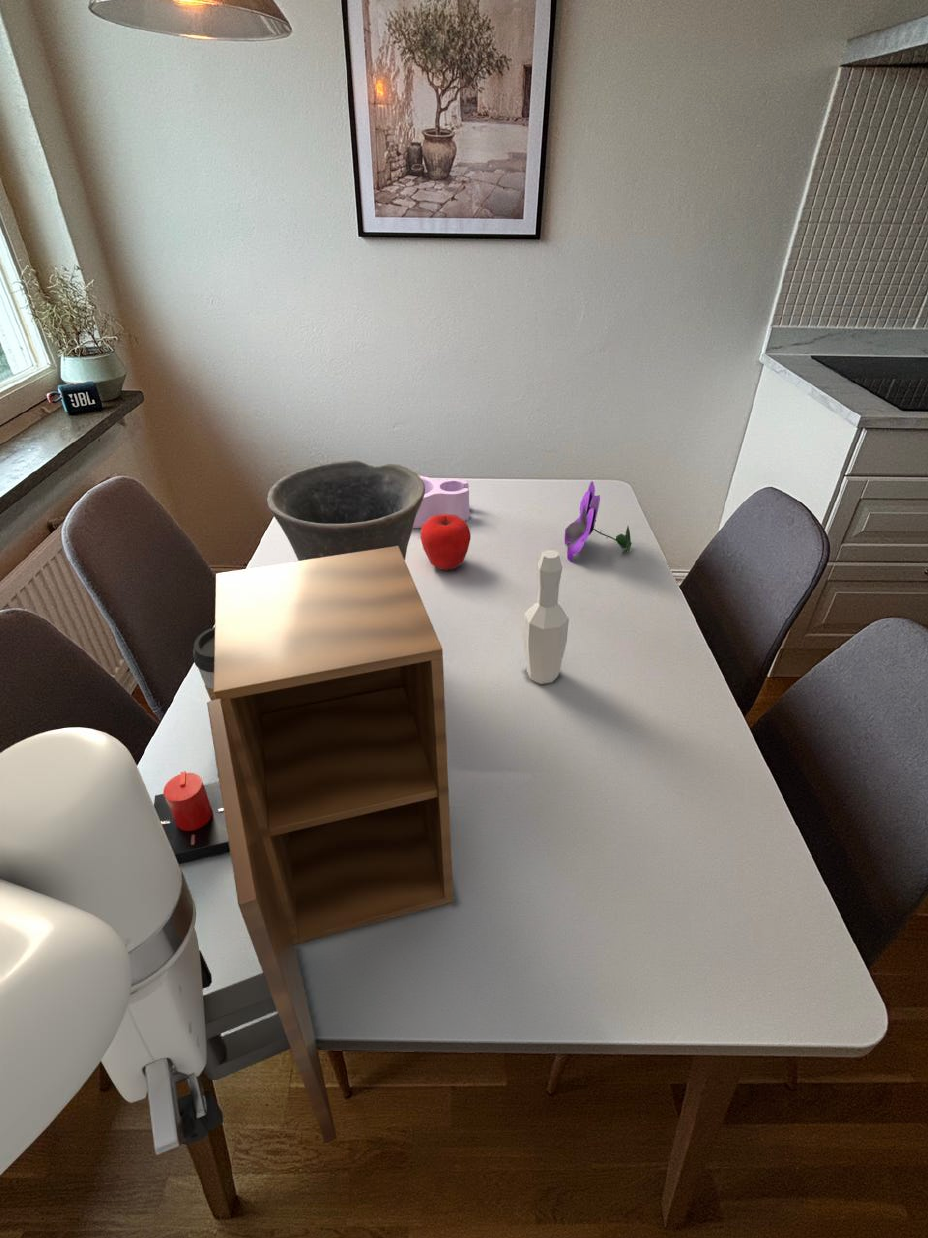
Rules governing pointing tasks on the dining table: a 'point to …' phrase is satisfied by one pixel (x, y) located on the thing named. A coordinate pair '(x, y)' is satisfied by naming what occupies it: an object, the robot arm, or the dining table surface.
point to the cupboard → (339, 735)
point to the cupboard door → (259, 953)
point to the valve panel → (198, 841)
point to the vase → (346, 508)
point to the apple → (445, 540)
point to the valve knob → (188, 801)
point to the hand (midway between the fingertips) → (194, 1053)
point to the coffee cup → (206, 659)
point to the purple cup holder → (443, 499)
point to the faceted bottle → (546, 623)
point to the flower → (589, 525)
